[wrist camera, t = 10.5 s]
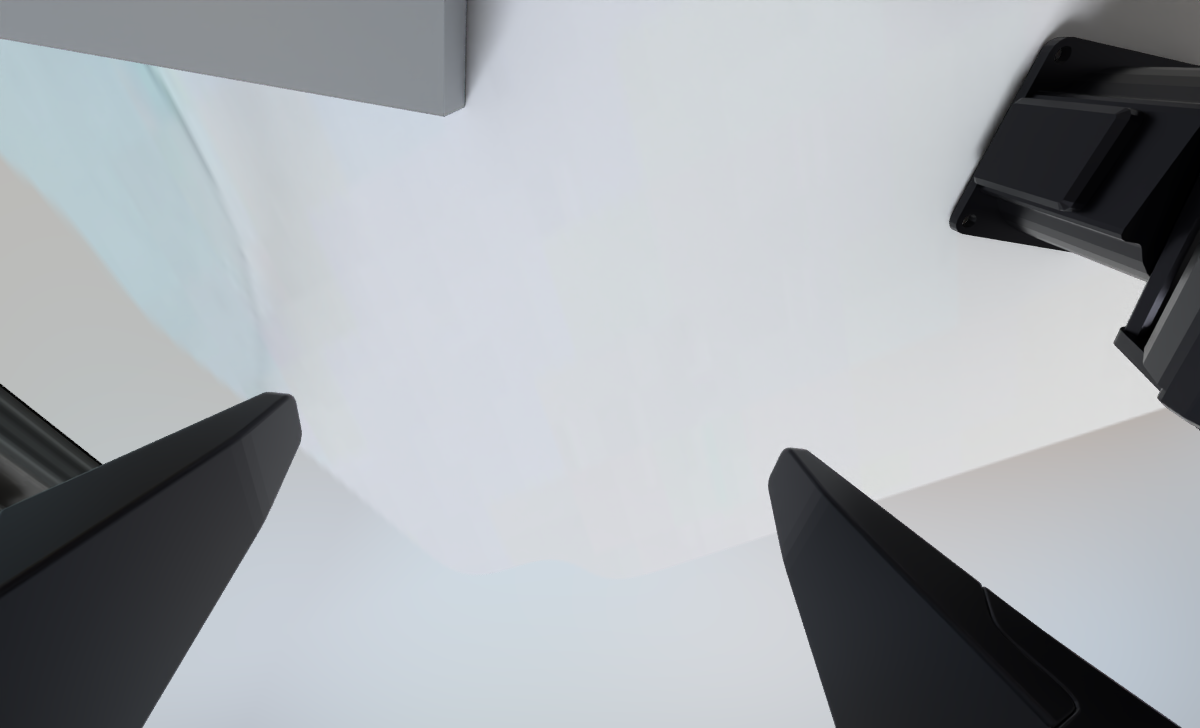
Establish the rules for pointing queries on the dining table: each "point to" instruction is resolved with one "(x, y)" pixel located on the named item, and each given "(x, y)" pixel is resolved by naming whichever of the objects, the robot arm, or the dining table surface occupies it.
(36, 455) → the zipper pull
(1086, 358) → the dining table surface
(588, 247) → the dining table surface
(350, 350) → the dining table surface
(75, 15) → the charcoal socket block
